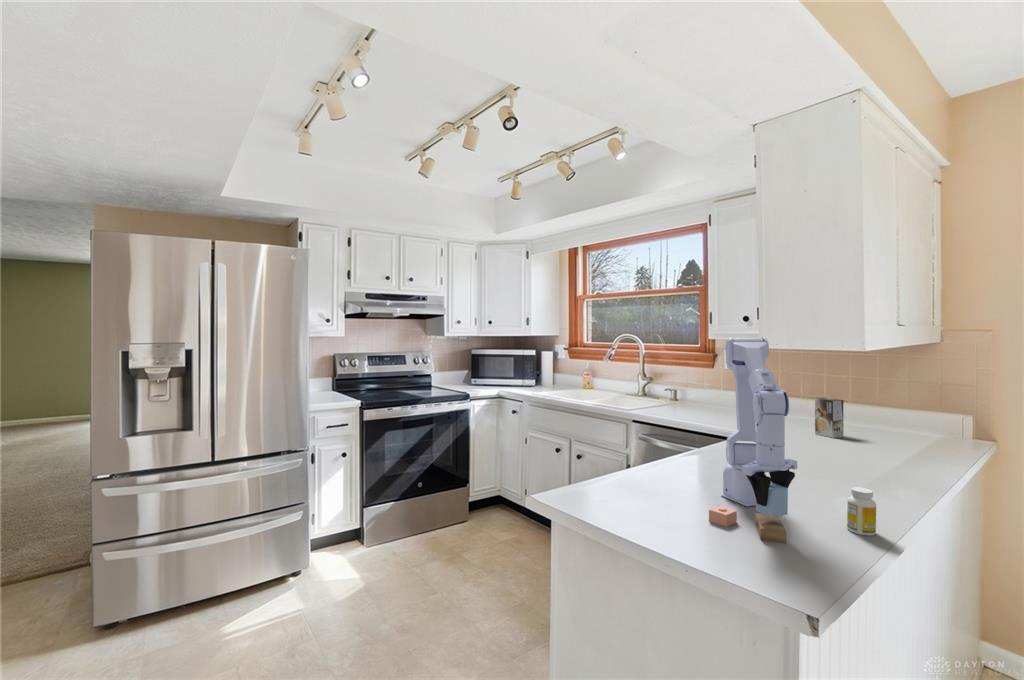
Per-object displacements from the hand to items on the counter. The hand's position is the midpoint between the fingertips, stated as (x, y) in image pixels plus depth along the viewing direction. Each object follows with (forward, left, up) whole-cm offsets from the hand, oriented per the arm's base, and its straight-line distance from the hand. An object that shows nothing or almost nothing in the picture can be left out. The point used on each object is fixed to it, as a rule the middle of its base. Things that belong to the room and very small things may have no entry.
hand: (770, 503), depth 111 cm
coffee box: (-67, +110, -7) cm, 129 cm away
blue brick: (0, 0, -2) cm, 2 cm away
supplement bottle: (+7, +20, -7) cm, 22 cm away
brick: (-9, -5, -7) cm, 12 cm away
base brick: (0, 0, -7) cm, 7 cm away
